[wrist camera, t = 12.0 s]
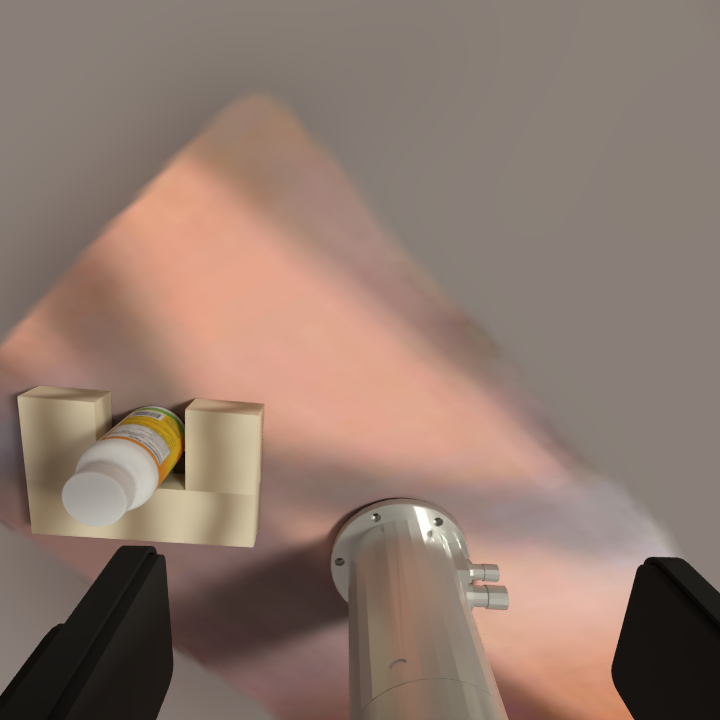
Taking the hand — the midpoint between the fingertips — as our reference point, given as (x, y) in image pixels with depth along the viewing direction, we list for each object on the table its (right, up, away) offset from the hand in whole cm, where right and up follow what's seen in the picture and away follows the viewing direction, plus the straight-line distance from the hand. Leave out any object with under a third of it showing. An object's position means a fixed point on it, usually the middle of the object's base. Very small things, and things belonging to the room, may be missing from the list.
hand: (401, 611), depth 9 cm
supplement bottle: (-18, -1, +29) cm, 34 cm away
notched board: (-18, -4, +29) cm, 35 cm away
